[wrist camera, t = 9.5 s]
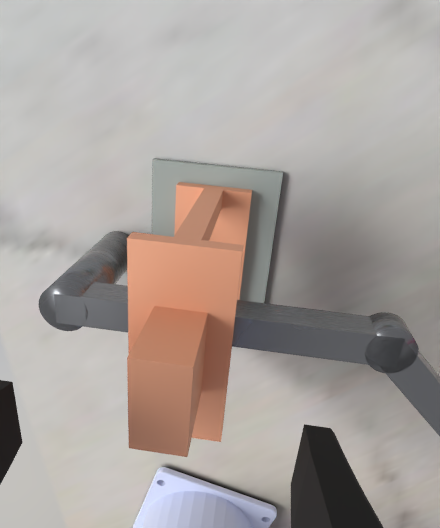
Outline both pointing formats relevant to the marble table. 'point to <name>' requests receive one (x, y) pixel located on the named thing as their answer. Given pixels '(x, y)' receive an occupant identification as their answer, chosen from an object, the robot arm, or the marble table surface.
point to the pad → (257, 180)
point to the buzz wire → (253, 325)
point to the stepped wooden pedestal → (184, 318)
